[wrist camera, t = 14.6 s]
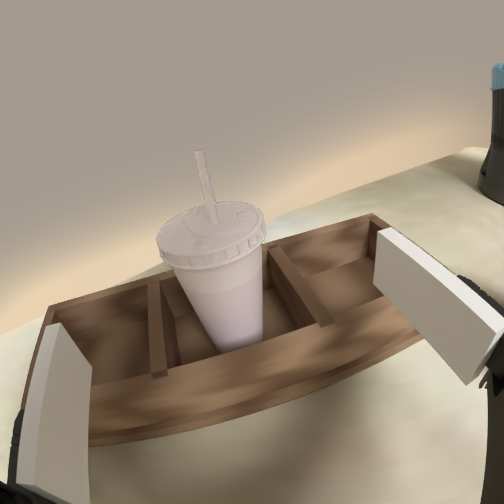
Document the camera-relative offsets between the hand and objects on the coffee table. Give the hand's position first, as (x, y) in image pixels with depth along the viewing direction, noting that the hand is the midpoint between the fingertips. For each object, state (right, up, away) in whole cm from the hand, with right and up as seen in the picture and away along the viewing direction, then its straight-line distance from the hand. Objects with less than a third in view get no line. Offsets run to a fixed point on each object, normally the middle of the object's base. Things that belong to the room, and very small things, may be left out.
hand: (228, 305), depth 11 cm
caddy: (0, -5, +12) cm, 13 cm away
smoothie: (0, -5, +11) cm, 12 cm away
